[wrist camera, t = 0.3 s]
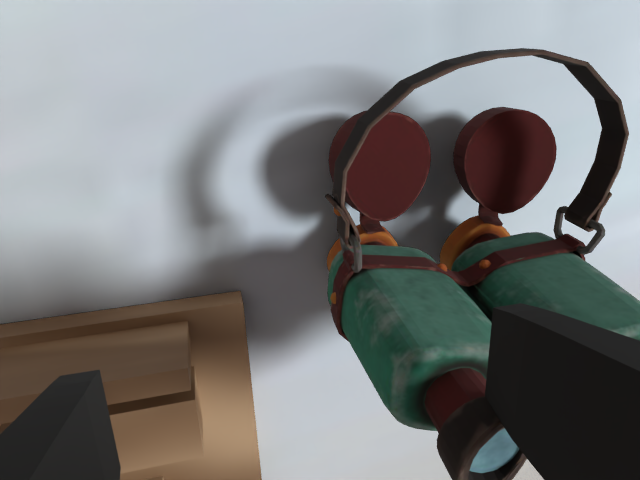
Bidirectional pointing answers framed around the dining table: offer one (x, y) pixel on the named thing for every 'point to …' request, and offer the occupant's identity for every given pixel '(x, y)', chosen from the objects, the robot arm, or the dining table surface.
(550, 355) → the robot arm
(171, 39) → the dining table surface
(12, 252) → the dining table surface
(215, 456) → the stand
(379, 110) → the binoculars
